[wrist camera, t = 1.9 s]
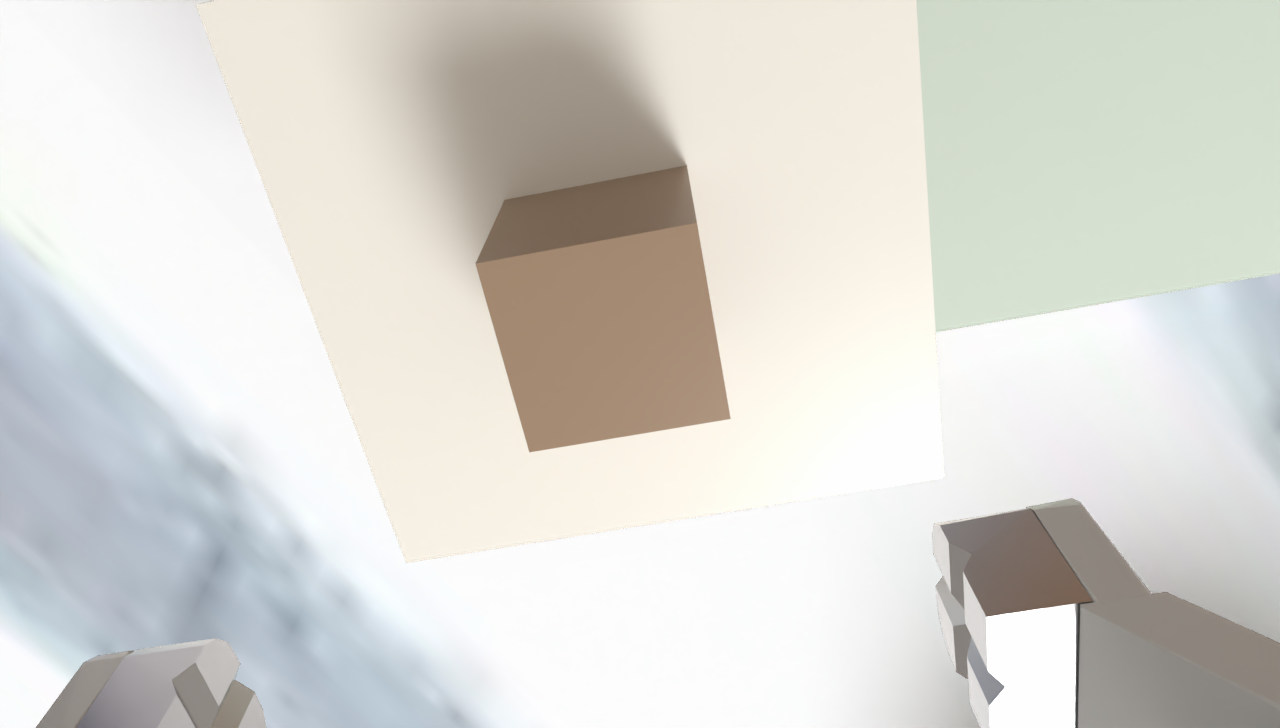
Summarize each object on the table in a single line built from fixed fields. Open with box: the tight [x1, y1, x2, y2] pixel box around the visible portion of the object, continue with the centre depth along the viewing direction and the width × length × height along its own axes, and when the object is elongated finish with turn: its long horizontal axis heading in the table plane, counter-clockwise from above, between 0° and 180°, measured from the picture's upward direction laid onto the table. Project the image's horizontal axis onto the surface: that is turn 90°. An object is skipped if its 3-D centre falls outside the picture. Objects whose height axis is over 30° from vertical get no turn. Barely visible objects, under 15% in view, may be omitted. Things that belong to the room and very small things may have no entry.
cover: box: [196, 0, 944, 563], centre depth 20 cm, size 14×14×5 cm
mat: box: [916, 0, 1280, 332], centre depth 31 cm, size 16×18×1 cm
